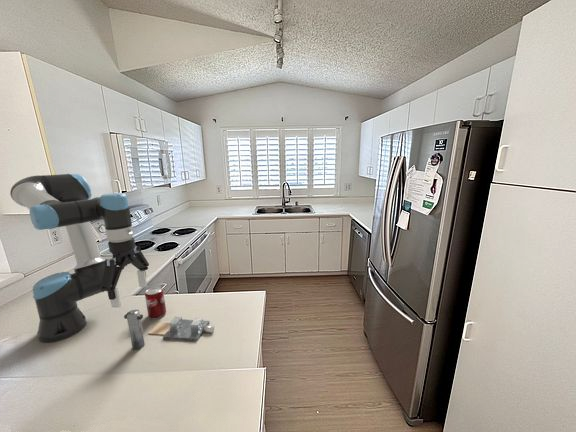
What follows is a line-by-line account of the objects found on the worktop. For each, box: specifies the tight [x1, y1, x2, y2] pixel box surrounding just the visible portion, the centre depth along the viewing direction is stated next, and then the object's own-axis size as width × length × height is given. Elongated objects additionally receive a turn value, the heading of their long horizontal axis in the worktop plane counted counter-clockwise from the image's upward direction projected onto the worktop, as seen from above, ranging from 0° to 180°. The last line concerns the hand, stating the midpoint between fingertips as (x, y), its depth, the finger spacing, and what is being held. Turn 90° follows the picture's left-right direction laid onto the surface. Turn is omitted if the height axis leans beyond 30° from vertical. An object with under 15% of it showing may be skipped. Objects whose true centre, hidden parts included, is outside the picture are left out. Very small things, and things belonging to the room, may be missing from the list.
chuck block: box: [162, 316, 215, 342], centre depth 102 cm, size 18×11×4 cm, turn 84°
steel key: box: [123, 309, 146, 351], centre depth 93 cm, size 6×4×14 cm, turn 84°
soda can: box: [144, 286, 167, 320], centre depth 112 cm, size 7×7×12 cm
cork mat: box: [148, 322, 170, 336], centre depth 104 cm, size 7×7×1 cm
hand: (130, 295), depth 90 cm, fingers open, 13 cm apart
